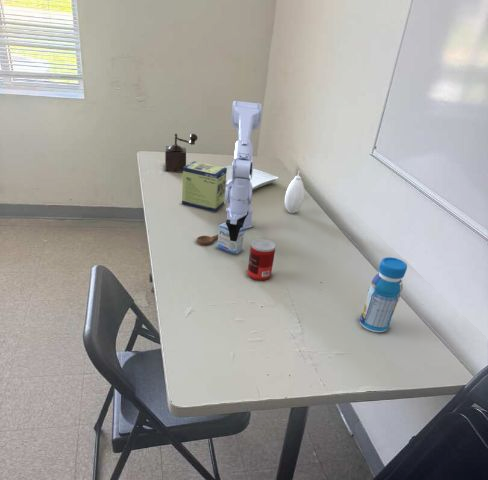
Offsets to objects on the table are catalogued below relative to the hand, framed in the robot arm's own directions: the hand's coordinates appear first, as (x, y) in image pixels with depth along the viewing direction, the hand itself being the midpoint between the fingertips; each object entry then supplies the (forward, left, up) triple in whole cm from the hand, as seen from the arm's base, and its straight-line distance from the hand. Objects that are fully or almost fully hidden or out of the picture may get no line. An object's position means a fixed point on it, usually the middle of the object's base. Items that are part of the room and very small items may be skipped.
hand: (235, 236), depth 152 cm
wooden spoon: (0, -11, -6) cm, 12 cm away
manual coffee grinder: (-39, -81, -6) cm, 90 cm away
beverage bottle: (-2, +56, -6) cm, 56 cm away
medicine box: (+1, -2, -6) cm, 6 cm away
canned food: (+5, +17, -6) cm, 19 cm away
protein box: (-19, -39, -6) cm, 44 cm away
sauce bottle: (-47, -13, -6) cm, 49 cm away
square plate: (-54, -52, -6) cm, 75 cm away
